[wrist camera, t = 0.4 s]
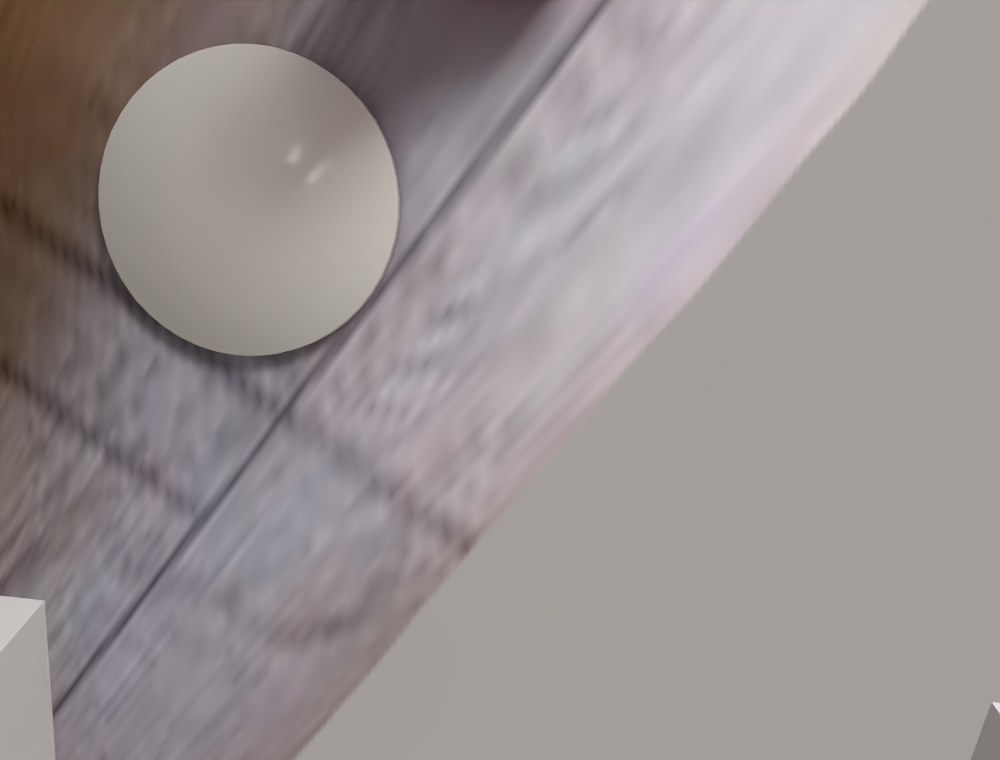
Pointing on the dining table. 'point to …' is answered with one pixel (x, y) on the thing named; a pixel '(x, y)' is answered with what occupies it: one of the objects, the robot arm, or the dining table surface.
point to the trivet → (249, 200)
